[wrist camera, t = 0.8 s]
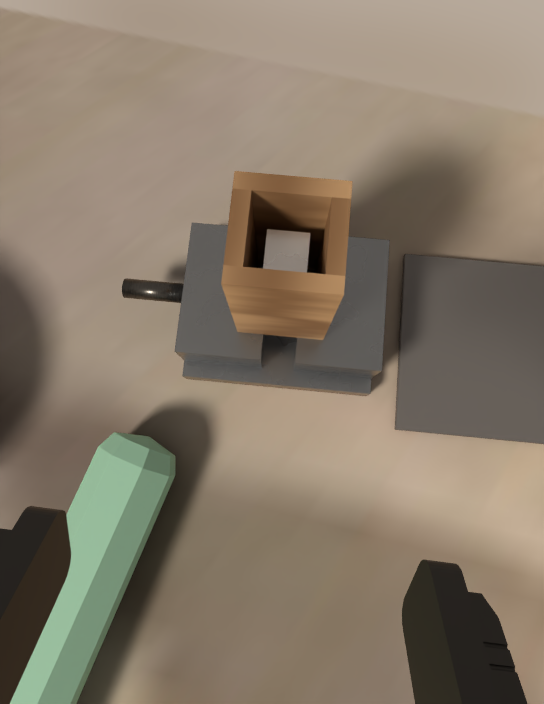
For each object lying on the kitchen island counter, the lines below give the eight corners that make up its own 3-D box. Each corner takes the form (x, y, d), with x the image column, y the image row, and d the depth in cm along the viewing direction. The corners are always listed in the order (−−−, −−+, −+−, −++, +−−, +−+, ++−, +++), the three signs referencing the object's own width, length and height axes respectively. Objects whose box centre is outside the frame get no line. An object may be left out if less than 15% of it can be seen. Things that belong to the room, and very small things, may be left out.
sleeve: (329, 258, 30) (352, 181, 21) (323, 340, 29) (343, 294, 20) (246, 250, 30) (234, 171, 21) (237, 331, 29) (221, 283, 20)
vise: (375, 253, 35) (422, 162, 24) (366, 396, 33) (412, 371, 22) (148, 233, 35) (88, 134, 24) (127, 373, 34) (52, 337, 22)
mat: (577, 271, 35) (581, 269, 34) (579, 447, 33) (583, 447, 32) (404, 256, 35) (405, 254, 35) (394, 429, 33) (396, 429, 32)
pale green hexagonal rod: (105, 422, 27) (-138, 939, 23) (203, 461, 29) (-4, 946, 24) (101, 414, 33) (-95, 828, 28) (183, 446, 35) (12, 840, 30)
